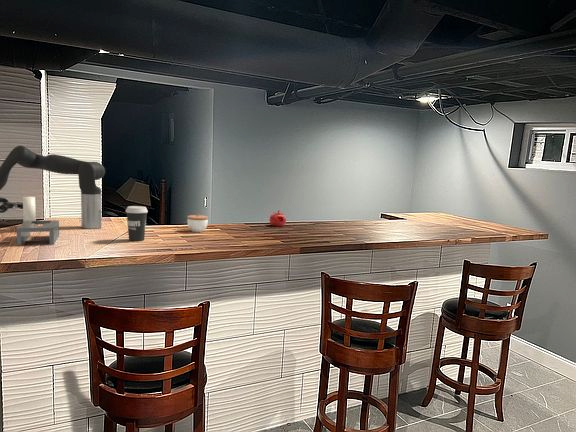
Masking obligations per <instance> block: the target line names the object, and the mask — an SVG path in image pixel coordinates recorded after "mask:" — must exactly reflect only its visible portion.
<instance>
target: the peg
mask: <svg viewBox="0 0 576 432" xmlns="http://www.w3.org/2000/svg"><path fill="white" fill-rule="evenodd" d="M22 203H23V209H22V213H23V214H22V215H23V216H22V218H23V222H25V221H37V215H36V214H37V213H36V212H37V211H36V209H37V208H36V207H37V206H36V196H22ZM23 222H22V223H23Z"/></svg>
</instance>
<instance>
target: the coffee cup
mask: <svg viewBox="0 0 576 432" xmlns="http://www.w3.org/2000/svg"><path fill="white" fill-rule="evenodd" d="M148 212H149V211H148V209H147V207H146V206H141V205H131V206H130V205H129V206H127V207H126V209H125V213H126V220H127V230H128V231H127V233H128V241H129V242H142V241H145V235H146V225H147V215H148Z"/></svg>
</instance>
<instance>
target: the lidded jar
mask: <svg viewBox="0 0 576 432" xmlns="http://www.w3.org/2000/svg"><path fill="white" fill-rule="evenodd" d="M186 218H187V222H186V223H187V227H188V228H189V230H191V232H193V233H203V232H204V231H205V230H206V229H207V227H208V224H209V216H207V215H201V214H199V213H198V212H197V213H196V214H191V215H187V217H186Z"/></svg>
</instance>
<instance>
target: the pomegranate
mask: <svg viewBox="0 0 576 432" xmlns="http://www.w3.org/2000/svg"><path fill="white" fill-rule="evenodd" d="M285 215H286V214H284V213H283V212H280V210H279V209H278V210H277V212H274V213H272V214H271V215H270V216H269V224H270V225H271V226H272V227H278V228H279V227H284V226H285V225H286V222H287V219H286V217H285Z"/></svg>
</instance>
